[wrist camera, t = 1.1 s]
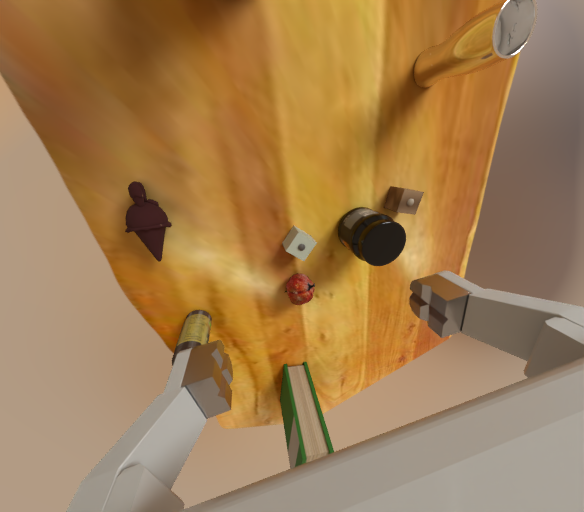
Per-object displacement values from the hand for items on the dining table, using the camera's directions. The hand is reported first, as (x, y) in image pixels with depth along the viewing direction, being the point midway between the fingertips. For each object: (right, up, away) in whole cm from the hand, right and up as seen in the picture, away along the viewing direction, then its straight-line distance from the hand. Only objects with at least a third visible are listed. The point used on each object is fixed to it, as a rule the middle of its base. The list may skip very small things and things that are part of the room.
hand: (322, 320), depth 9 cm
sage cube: (0, +7, +42) cm, 42 cm away
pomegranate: (0, -4, +47) cm, 47 cm away
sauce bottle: (-25, -13, +45) cm, 53 cm away
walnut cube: (+24, +17, +43) cm, 52 cm away
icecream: (-29, +10, +34) cm, 45 cm away
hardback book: (-1, -40, +63) cm, 75 cm away
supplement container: (+15, +10, +44) cm, 47 cm away
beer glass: (+25, +39, +33) cm, 57 cm away
